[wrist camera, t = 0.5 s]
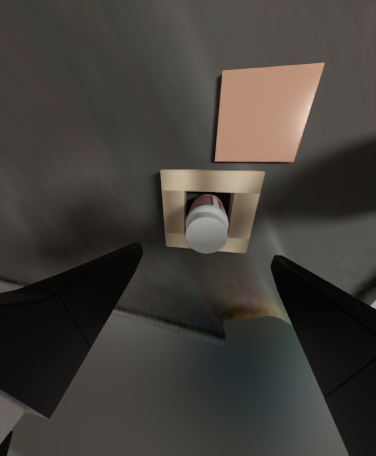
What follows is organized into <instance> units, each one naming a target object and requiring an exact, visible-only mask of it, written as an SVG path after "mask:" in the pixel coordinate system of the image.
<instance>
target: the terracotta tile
mask: <svg viewBox="0 0 376 456" xmlns="http://www.w3.org/2000/svg"><path fill="white" fill-rule="evenodd" d="M324 64H325V63H315V64H302V65H289V66H276V67H264V68H251V69H238V70H225V71H223V72H222V82H221V94H220V106H219V117H218V129H217V141H216V153H215V161H219V162H294V159H295V156H296V153H297V149H298V146H299V143H300V140H301V137H302V134H303V130H304V127H305V124H306V121H307V118H308V115H309V111H310V108H311V105H312V102H313V99H314V96H315V92H316V89H317V86H318V83H319V80H320V77H321V73H322V70H323V67H324Z"/></svg>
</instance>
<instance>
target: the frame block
mask: <svg viewBox="0 0 376 456" xmlns="http://www.w3.org/2000/svg"><path fill="white" fill-rule="evenodd" d="M160 172H161V186H162V199H163V212H164V225H165V239H166V246H169V247H180V248H191V247H190V246H189V244H188V243H187V241H186V236H185V233H186V219H187V191H199V192H227V193H231V197H230V204H229V210H228V217H227V218H228V222H229V227H228V231H227V233H228V237H227V241H226V243H225V245H224V246H223V247H222V248H221V249H220V250H218V251H225V252H236V253H246V250H247V246H248V242H249V238H250V234H251V229H252V225H253V221H254V217H255V213H256V209H257V204H258V200H259V196H260V192H261V188H262V184H263V180H264V175H265V171H252V170H184V169H164V170H160Z"/></svg>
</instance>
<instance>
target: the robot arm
mask: <svg viewBox="0 0 376 456" xmlns="http://www.w3.org/2000/svg"><path fill="white" fill-rule="evenodd" d="M142 255H143V251H142V245H141V243H137V242H135V243H132V244H130V245H128V246H125V247H123V248H120V249H118V250H116V251H113V252H111V253H109V254H106V255H104V256H101V257H99V258H97V259H94V260H92V261H90V262H87V263H85V264H83V265H80V266H78V267H75V268H73V269H70V270H68V271H65V272H63V273H60V274H58V275H55V276H52V277H50V278H47V279H44V280H42V281H39V282H36V283H33V284H31V285H28V286H25V287H23V288H20V289H17V290H13V291H9V292H4V293H0V456H7V453H8V449H9V445H10V441H11V437H12V433H13V431H11V429H12V428H13V426H14V425H15V424H16V423H17V421H18V420H19V419H20V417H21V416H22V415H23V413H24V412H27V413H30V414H33V415H36V416H40V417H43V418H47V419H49V418H50V417H51V415H52V414H53V412H54V411H55V409H56V407H57V406H58V404H59V402H60V400H61V399H62V397H63V395H64V393H65V392H66V390H67V388H68V387H69V385H70V383H71V382H72V380H73V378H74V376H75V375H76V373H77V371H78V370H79V368H80V366H81V364H82V363H83V361H84V359H85V357H86V356H87V354H88V352H89V350H90V349H91V347H92V345H93V344H94V342H95V340H96V338H97V337H98V335H99V333H100V332H101V330H102V328H103V326H104V325H105V323H106V321H107V319H108V318H109V316H110V314H111V313H112V311H113V309H114V307H115V306H116V304H117V302H118V301H119V299H120V297H121V295H122V294H123V292H124V290H125V289H126V287H127V285H128V283H129V282H130V280H131V278H132V277H133V275H134V273H135V271H136V269H137V266H138V264H139V262H140V260H141V257H142ZM271 271H272V274H273V277H274V281H275V284H276V287H277V290H278V293H279V295H280V298H281V300H282V302H283V304H284V307H285V309H286V311H287V314H288V316H289V318H290V321H291V323H292V325H293V327H294V330H295V332H296V334H297V337H298V339H299V341H300V344H301V346H302V348H303V350H304V353H305V355H306V357H307V360H308V362H309V364H310V366H311V369H312V371H313V373H314V376H315V378H316V380H317V383H318V385H319V387H320V389H321V392H322V394H323V396H324V397H325V398H324V399H325V401H326V404H327V406H328V408H329V411H330V413H331V415H332V417H333V419H334V422H335V424H336V427H337V429H338V431H339V434H340V436H341V438H342V440H343V443H344V445H345V447H346V450H347V452H348V454H349V456H376V309H375V308H372V307H371V306H369V305H367V304H366V303H364V302H362V301H360V300H359V299H357V298H354V297H353V296H352V295H350V294H348V293H346V292H345V291H343V290H341V289H340V288H338V287H336V286H334V285H333V284H331V283H329V282H327V281H326V280H324V279H322V278H320V277H319V276H317V275H315V274H313V273H312V272H310V271H308V270H306V269H305V268H303V267H301V266H299V265H298V264H296V263H294V262H293V261H291V260H289V259H287V258H286V257H284V256H281V255H275V256H274V257H273V260H272V263H271Z"/></svg>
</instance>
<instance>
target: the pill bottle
mask: <svg viewBox="0 0 376 456" xmlns="http://www.w3.org/2000/svg"><path fill="white" fill-rule="evenodd" d="M228 227H229V222H228V218H227V215H226V212H225V210H224V207H223V204H222V202H221V201H220V199H219V198H218V197H216V196H214V195H211V194H205V195H201V196H199V197H198V198H197V199H195V201H194V202H193V204H192V206H191V209H190V211H189V214H188V216H187V219H186V233H185V236H186V241H187V243H188V244H189V246H190V247H191V248H192V249H194V250H195V251H197V252H200V253H206V254H207V253H214V252H216V251H218V250H220V249H221V248H222V247H223V246H224V245H225V243H226V241H227V237H228V233H227V231H228Z"/></svg>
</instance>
